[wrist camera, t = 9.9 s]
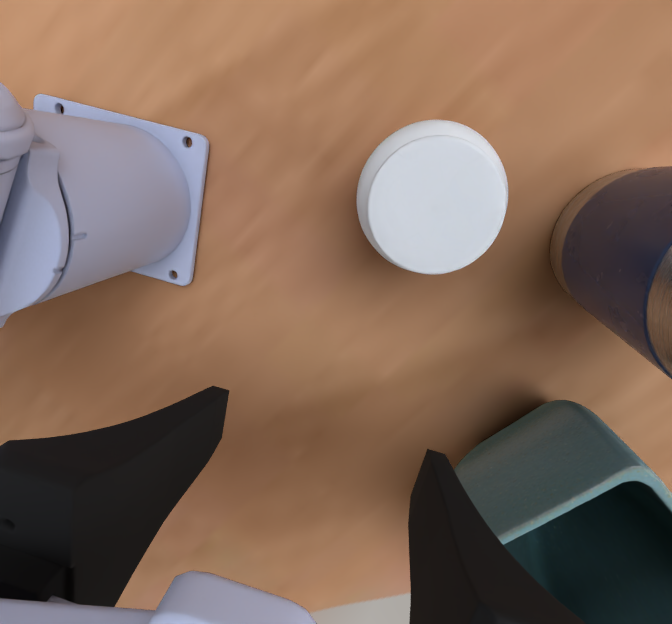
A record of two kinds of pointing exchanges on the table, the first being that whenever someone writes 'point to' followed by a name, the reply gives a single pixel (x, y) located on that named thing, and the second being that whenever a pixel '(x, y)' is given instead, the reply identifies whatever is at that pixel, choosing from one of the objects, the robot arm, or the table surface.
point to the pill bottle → (432, 197)
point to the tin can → (622, 257)
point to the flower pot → (577, 513)
